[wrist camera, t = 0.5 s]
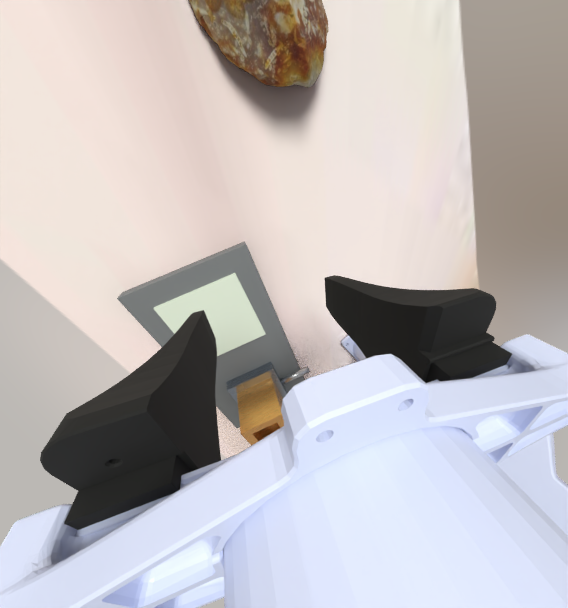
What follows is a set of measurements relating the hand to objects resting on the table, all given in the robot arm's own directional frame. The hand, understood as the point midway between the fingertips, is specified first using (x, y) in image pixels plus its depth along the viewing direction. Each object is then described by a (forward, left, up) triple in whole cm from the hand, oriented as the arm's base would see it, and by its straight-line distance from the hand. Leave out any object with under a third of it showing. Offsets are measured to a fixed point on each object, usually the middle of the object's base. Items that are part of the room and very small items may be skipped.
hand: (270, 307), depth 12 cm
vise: (-14, +9, -9) cm, 19 cm away
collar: (-13, +11, -8) cm, 19 cm away
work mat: (-8, +9, -10) cm, 16 cm away
